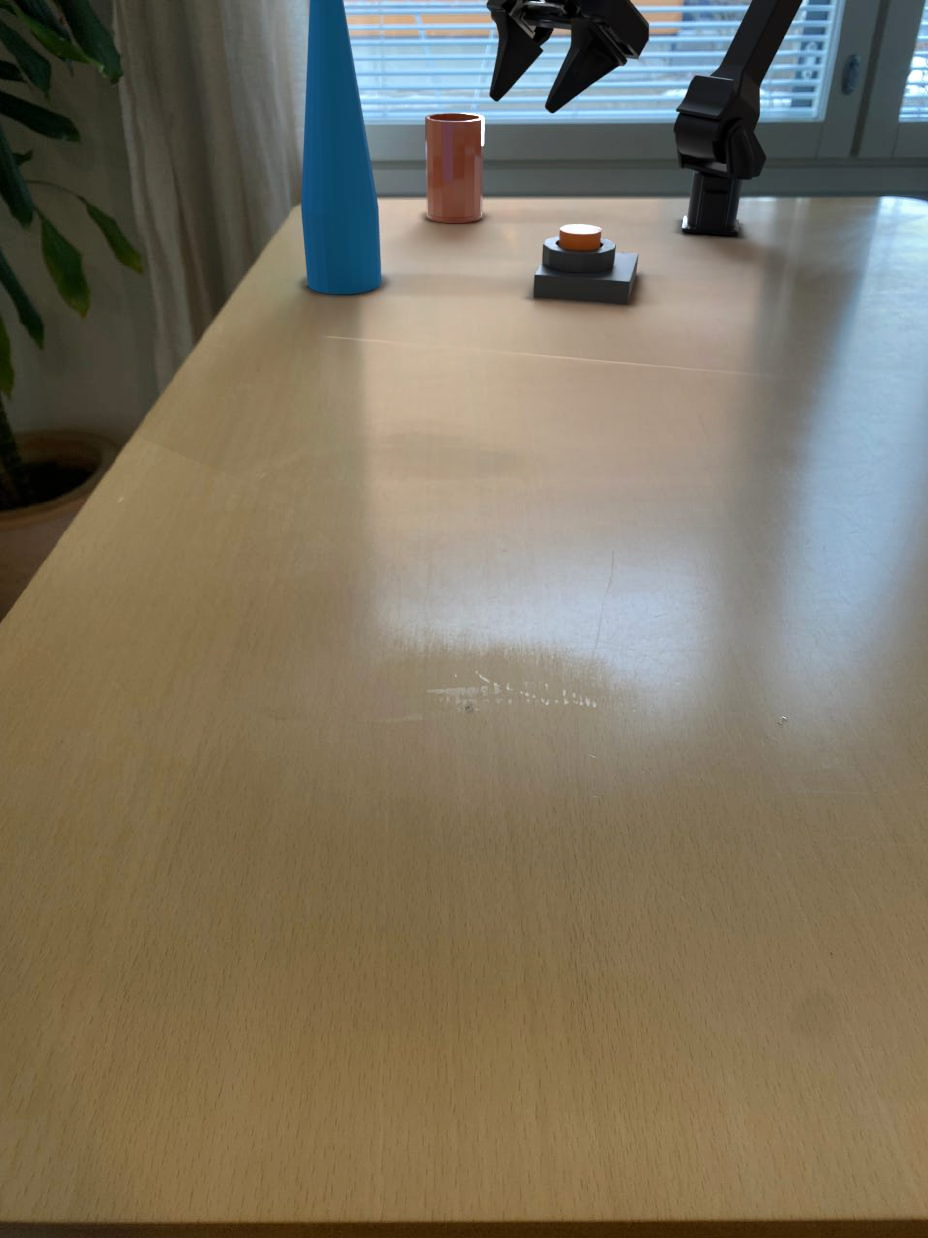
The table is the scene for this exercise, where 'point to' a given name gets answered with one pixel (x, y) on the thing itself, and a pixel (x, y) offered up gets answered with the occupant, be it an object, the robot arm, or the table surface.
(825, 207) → the table surface
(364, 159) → the bottle
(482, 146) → the cup
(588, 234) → the orange push button
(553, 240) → the button base
